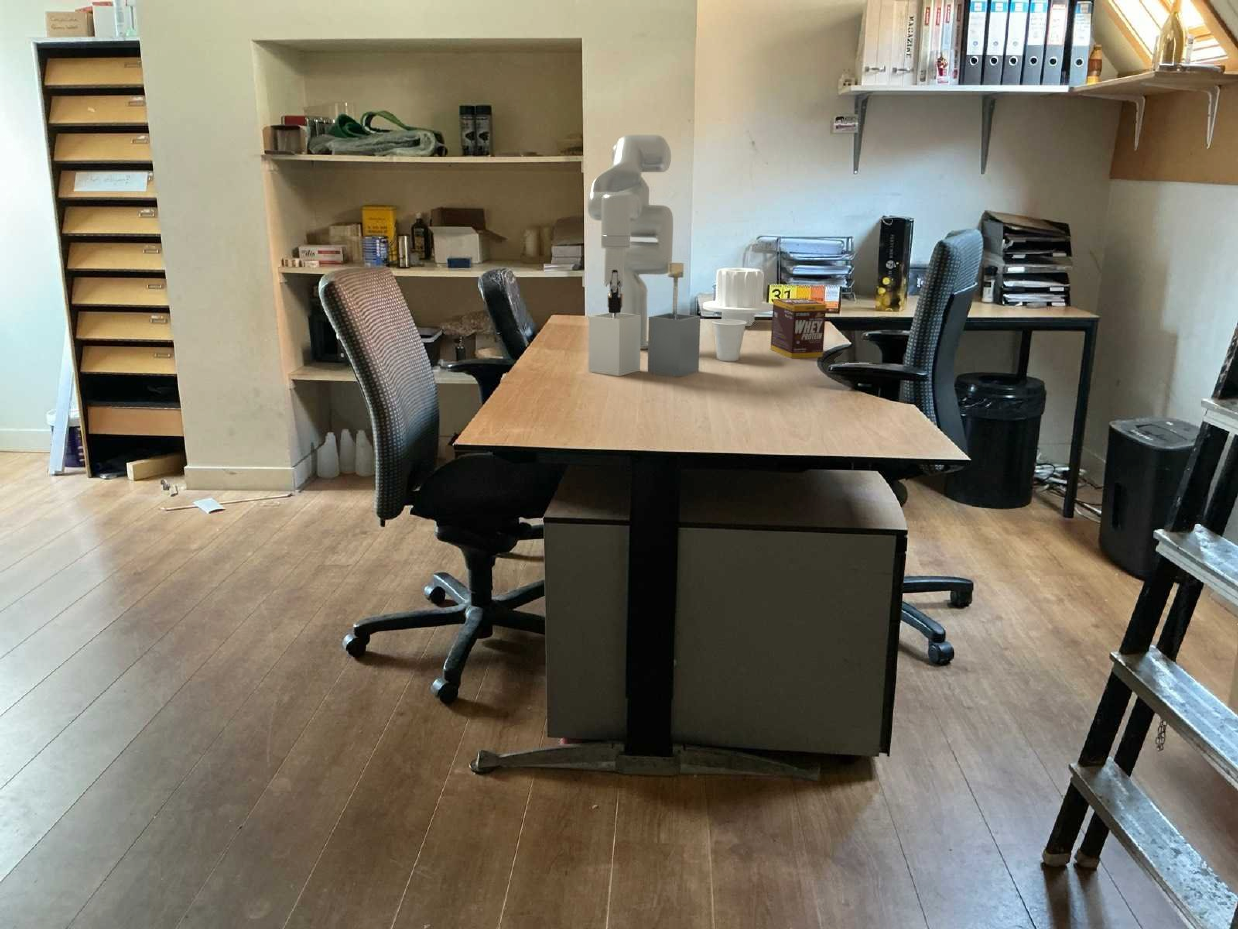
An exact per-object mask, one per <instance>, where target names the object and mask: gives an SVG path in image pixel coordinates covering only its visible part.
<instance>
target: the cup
mask: <svg viewBox="0 0 1238 929" xmlns="http://www.w3.org/2000/svg"><path fill="white" fill-rule="evenodd" d="M711 323H712V327H713V335H714V341H715V342H714V344H715V350H716V357H717V359H718V360H719V361H721V362H737V361H738V360H739V358H740V355H741V349H742V344H743V339H744V335H745V334H744V333H745V330H746V327H745V326H746V324H747V322H746V321H742V320H734V319H722V318H721V319H714V320H712V321H711Z"/></svg>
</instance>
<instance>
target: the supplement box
mask: <svg viewBox="0 0 1238 929" xmlns="http://www.w3.org/2000/svg"><path fill="white" fill-rule="evenodd" d="M772 304H773V311H772V318H771V336H770V338H771V339H770V350H771V351H774V352H776V353H777V354H780V355H783V357H784V356H785V357H787V358H789V359H800V358H801V359H809V358H821V357H820V356H823V354H824V346H825V345H824V344H825V343H824V340H825V330H826V329H825V328H826V311H827V304H826V303H822V302H819V301H815V300H812V299H808V298H804V297H803V298H800V297H799V298H795V297H794V298H792V297H791V298H774V299H773V300H772ZM823 357H824V356H823Z"/></svg>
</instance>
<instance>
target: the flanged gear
mask: <svg viewBox="0 0 1238 929" xmlns="http://www.w3.org/2000/svg"><path fill="white" fill-rule="evenodd" d="M715 277H716V278H715V300H709V301H705V302H703V303H702V308H703V309H704V310H706V311H710V312H717V313H721V319H734V320H742V321H746V322H747V324H746V326H750V327H752V325H753V324H754V323H755V314H762V313H770V312H773V303H771V302H764V301H763V300H764V285H765V284H764V281H765V273H764V271H763V270H762V269H758V268H753V267H752V268H749V267H723V268H718V269H717V270H716V274H715ZM753 322H754V323H753ZM752 323H753V324H752Z"/></svg>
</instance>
